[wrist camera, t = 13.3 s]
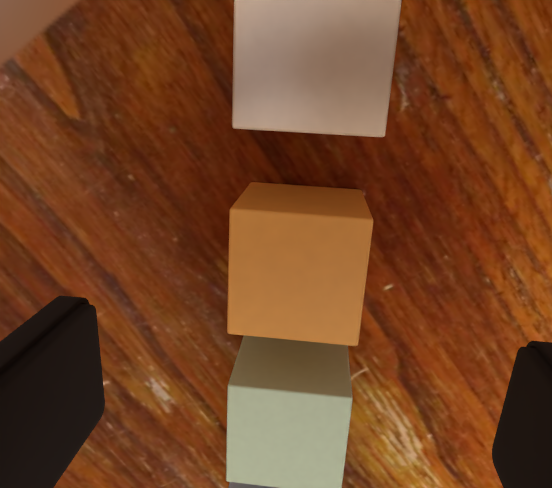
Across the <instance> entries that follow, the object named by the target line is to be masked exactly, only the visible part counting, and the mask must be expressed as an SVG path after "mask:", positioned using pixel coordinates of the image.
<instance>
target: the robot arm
mask: <svg viewBox="0 0 552 488" xmlns="http://www.w3.org/2000/svg"><path fill="white" fill-rule="evenodd" d="M104 406H105V399H104V388H103V378H102V367H101V357H100V347H99V336H98V326H97V315H96V309H95V307H94V306H93V305H89V302H88V300H87V299H86V298H80V297H69V296H59V297H57V298H55V299H54V300H53V301H52V302H50V303H49V304H48V305H46V306H45V307H44V308H43V309H41V310H40V311H39V312H38V313H36V314H35V315H34V316H32V317H31V318H30V319H29V320H27V321H26V322H25V323H23V324H22V325H21V326H20V327H18V328H17V329H16V330H15V331H13V332H12V333H11V334H9V335H8V336H7V337H6V338H4V339H3V340H2V341H1V342H0V488H53V487H54V486H55V484H56V483H57V481H58V480H59V479H60V477H61V476H62V474H63V473H64V471H65V470H66V468H67V467H68V465H69V464H70V462H71V461H72V460H73V458H74V457H75V455H76V454H77V452H78V451H79V449H80V448H81V446H82V445H83V443H84V442H85V440H86V439H87V438H88V436H89V435H90V433H91V432H92V430H93V429H94V427H95V426H96V424H97V423H98V421H99V420H100V418H101V417H102V414H103V411H104ZM492 458H493V463H494V466H495V469H496V471H497V473H498V476H499V478H500V480H501V483H502V485H503V487H504V488H552V343H550V342H539V341H531V342H529V343H528V345H527V347H521V348H520V349H519V350H518V352H517V356H516V359H515V363H514V367H513V371H512V375H511V378H510V382H509V386H508V390H507V394H506V398H505V401H504V405H503V409H502V413H501V417H500V420H499V424H498V428H497V432H496V436H495V440H494V443H493V448H492Z"/></svg>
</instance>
